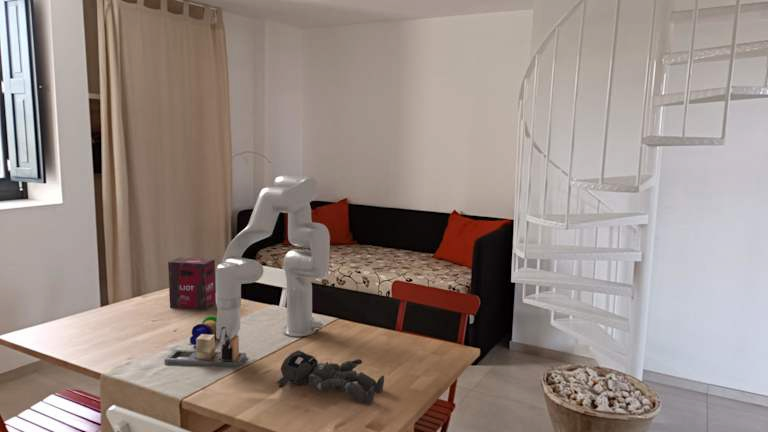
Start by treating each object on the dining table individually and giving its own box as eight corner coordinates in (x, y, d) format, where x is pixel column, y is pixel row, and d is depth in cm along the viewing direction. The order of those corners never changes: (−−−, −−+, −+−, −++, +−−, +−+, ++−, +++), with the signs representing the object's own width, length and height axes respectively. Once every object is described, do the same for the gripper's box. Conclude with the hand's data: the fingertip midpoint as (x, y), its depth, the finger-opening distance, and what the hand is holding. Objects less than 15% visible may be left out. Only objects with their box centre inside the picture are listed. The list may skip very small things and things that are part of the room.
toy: (216, 334, 187) (235, 319, 202) (196, 318, 187) (217, 304, 202) (197, 359, 190) (218, 342, 204) (178, 342, 190) (200, 327, 205)
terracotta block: (239, 359, 180) (238, 335, 179) (234, 364, 176) (234, 340, 175) (225, 358, 180) (225, 335, 179) (221, 364, 176) (220, 340, 175)
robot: (368, 389, 149) (273, 359, 159) (363, 423, 151) (270, 391, 161) (389, 366, 165) (301, 339, 175) (384, 397, 167) (298, 369, 177)
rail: (246, 360, 182) (246, 352, 182) (238, 370, 174) (238, 362, 174) (175, 357, 184) (175, 349, 183) (164, 367, 176) (164, 359, 175)
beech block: (215, 358, 181) (214, 334, 180) (210, 363, 176) (209, 339, 175) (202, 357, 181) (201, 334, 180) (196, 362, 177) (196, 339, 175)
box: (169, 307, 235) (168, 262, 232) (180, 301, 244) (179, 257, 241) (206, 310, 232) (204, 264, 229) (215, 304, 241) (214, 259, 238)
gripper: (226, 293, 184) (227, 346, 186) (207, 309, 167) (208, 366, 170) (248, 294, 183) (249, 346, 186) (231, 310, 167) (232, 367, 169)
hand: (230, 355), depth 178 cm, fingers closed on terracotta block, 4 cm apart
